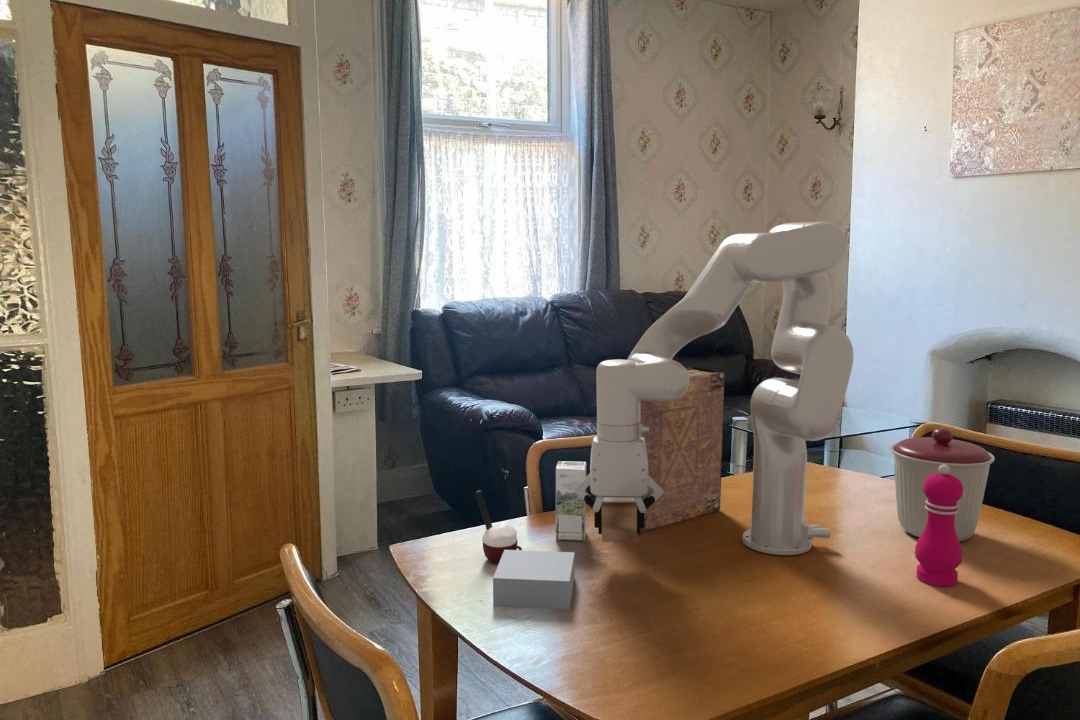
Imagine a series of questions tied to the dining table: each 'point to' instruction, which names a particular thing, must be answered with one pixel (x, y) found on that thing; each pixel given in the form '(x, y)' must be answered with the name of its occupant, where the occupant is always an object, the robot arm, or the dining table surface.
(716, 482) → the book
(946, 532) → the pepper mill
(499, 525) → the cocoa
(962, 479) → the canister
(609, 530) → the walnut cube
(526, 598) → the grey block
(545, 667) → the dining table surface
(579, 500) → the syrup box
